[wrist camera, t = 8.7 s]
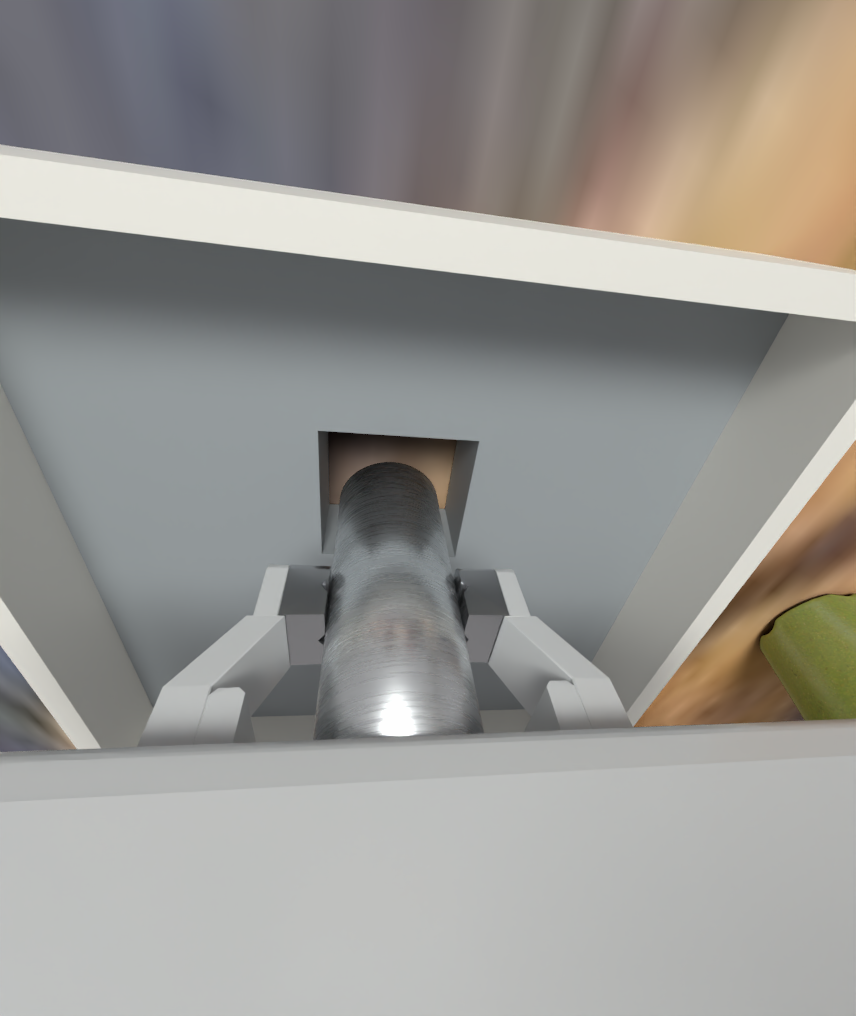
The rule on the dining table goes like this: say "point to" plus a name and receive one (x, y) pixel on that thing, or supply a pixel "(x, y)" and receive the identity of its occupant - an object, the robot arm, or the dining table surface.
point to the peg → (393, 617)
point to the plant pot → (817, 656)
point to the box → (381, 420)
